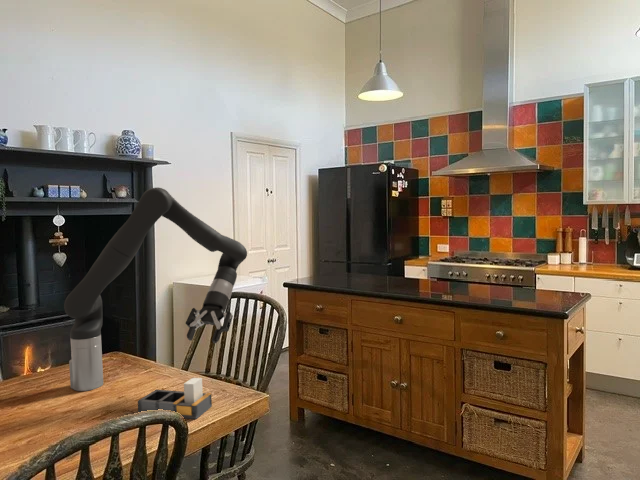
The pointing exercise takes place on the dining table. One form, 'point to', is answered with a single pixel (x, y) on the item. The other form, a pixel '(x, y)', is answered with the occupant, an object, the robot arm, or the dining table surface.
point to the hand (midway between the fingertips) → (201, 340)
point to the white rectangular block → (193, 390)
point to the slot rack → (175, 403)
